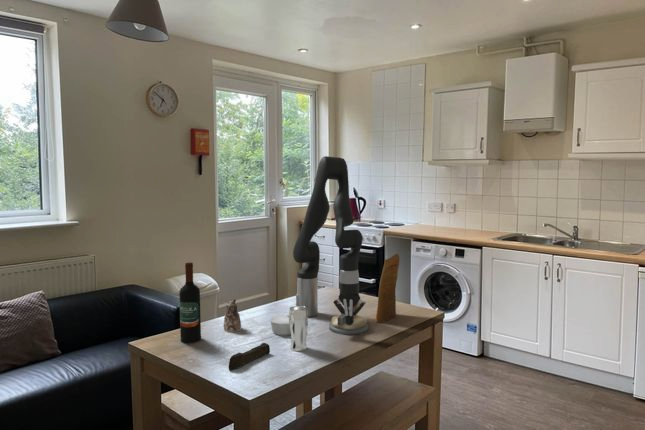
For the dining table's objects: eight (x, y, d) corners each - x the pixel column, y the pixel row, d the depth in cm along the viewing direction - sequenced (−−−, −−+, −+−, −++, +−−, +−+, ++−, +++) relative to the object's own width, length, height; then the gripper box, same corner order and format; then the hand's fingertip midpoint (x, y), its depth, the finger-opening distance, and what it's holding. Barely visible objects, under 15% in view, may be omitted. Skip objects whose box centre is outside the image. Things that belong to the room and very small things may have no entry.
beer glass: (305, 352, 173) (305, 311, 172) (286, 351, 174) (286, 310, 173) (309, 345, 180) (309, 306, 179) (291, 344, 181) (291, 305, 180)
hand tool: (262, 352, 174) (261, 339, 174) (270, 354, 172) (270, 341, 171) (223, 369, 159) (222, 356, 158) (231, 372, 156) (231, 358, 156)
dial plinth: (326, 333, 193) (326, 329, 193) (332, 321, 209) (332, 317, 209) (365, 335, 190) (365, 331, 190) (369, 323, 206) (369, 319, 206)
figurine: (219, 330, 197) (219, 301, 196) (230, 325, 204) (230, 297, 202) (233, 333, 194) (233, 303, 193) (244, 328, 200) (244, 299, 199)
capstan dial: (322, 331, 190) (322, 316, 189) (340, 314, 214) (340, 300, 213) (357, 335, 186) (357, 319, 185) (371, 317, 209) (371, 302, 209)
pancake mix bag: (403, 314, 219) (404, 253, 217) (384, 325, 204) (385, 260, 201) (390, 312, 223) (390, 252, 221) (370, 322, 207) (371, 258, 205)
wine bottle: (204, 337, 188) (203, 261, 186) (193, 344, 181) (191, 265, 179) (188, 335, 191) (186, 260, 188) (176, 341, 184) (174, 264, 181)
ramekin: (303, 331, 196) (303, 319, 195) (283, 338, 188) (283, 325, 187) (285, 325, 204) (285, 313, 203) (264, 332, 195) (264, 319, 195)
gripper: (368, 280, 188) (368, 323, 190) (335, 278, 193) (336, 320, 194) (363, 284, 181) (363, 329, 183) (330, 282, 186) (330, 326, 187)
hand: (349, 324), depth 188 cm, fingers closed
